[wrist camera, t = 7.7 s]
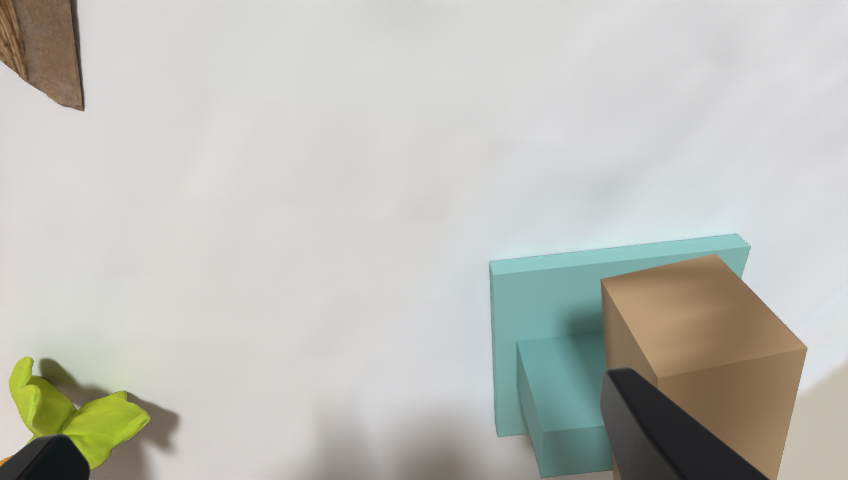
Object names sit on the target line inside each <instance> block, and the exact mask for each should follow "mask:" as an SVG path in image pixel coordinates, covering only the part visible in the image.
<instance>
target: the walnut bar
mask: <svg viewBox="0 0 848 480" xmlns="http://www.w3.org/2000/svg"><path fill="white" fill-rule="evenodd" d="M600 280H601V295H602V310H603V325H604V340H605V355H606V370H607V369H611V368H619V367H630V368H632V369H634V370H635V371H636V372H638V373H639V374H640V375H641V376H643V377H644V378H645V379H646V380H648V381H649V382H650V383H651V384H653V385H654V386H655V387H656V388H658V389H659V390H660V391H661V392H663V393H664V394H665V395H666V396H667V397H669V398H670V399H671V400H672V401H674V402H675V403H676V404H677V405H679V406H680V407H681V408H682V409H684V410H685V411H686V412H687V413H689V414H690V415H691V416H692V417H694V418H695V419H696V420H697V421H699V422H700V423H701V424H702V425H703V426H705V427H706V428H707V429H708V430H710V431H711V432H712V433H713V434H715V435H716V436H717V437H718V438H720V439H721V440H722V441H723V442H725V443H726V444H727V445H728V446H730V447H731V448H732V449H733V450H735V451H736V452H737V453H738V454H739V455H741V456H742V457H743V458H744V459H746V460H747V461H748V462H749V463H751V464H752V465H753V466H754V467H756V468H757V469H758V470H759V471H761V472H762V473H763V474H764V475H766V476H767V477H768V478H769V479H771V480H776V479H777V475H778V471H779V467H780V462H781V458H782V454H783V450H784V446H785V441H786V436H787V433H788V429H789V424H790V420H791V416H792V412H793V407H794V403H795V399H796V395H797V390H798V386H799V382H800V378H801V373H802V369H803V365H804V361H805V357H806V352H807V347H806V346H805V345H804V344H803V343H802V342H801V340H800V339H799V338H798V337H797V336H796V335H795V334H794V333H793V332H792V331H791V330H790V329H789V328H788V327H787V326H786V325H785V324H784V323H783V322H782V321H781V320H780V319H779V318H778V317H777V316H776V315H775V314H774V313H773V312H772V311H771V310H770V309H769V308H768V307H767V306H766V305H765V303H764V302H763V301H762V300H761V299H760V298H759V297H758V296H757V295H756V294H755V293H754V292H753V291H752V290H751V289H750V288H749V287H748V286H747V285H746V284H745V283H744V282H743V281H742V280H741V279H740V278H739V277H738V276H737V275H736V274H735V273H734V272H733V271H732V270H731V269H730V268H729V266H728V265H727V264H726V263H725V262H724V261H723V260H722V259H721V258H720V257H719V256H718V255H717V254H711V255H707V256H702V257H698V258H693V259H689V260H684V261H680V262H675V263H671V264H666V265H662V266H657V267H653V268H648V269H644V270H639V271H635V272H630V273H626V274H621V275H617V276H612V277H608V278H603V279H600ZM612 459H613V474H614V480H621V477H620V473H619V470H618V467H617V464H616V460H615V457H614V454H613V451H612Z"/></svg>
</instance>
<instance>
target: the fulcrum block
mask: <svg viewBox="0 0 848 480" xmlns="http://www.w3.org/2000/svg"><path fill="white" fill-rule="evenodd" d="M750 247H751V246H750V245H749V244H748V243H747V242H745V241H744V240H743V239H742V238H741V237H740V236H739V235H738V234H732V235H723V236H714V237H706V238H697V239H688V240H679V241H670V242H661V243H652V244H643V245H634V246H625V247H616V248H607V249H598V250H589V251H580V252H571V253H562V254H553V255H544V256H535V257H526V258H517V259H508V260H499V261H490V262H489V267H490V294H491V322H492V349H493V377H494V404H495V424H496V428H497V433H498V437H504V436H513V435H523V434H530V437H531V441H532V445H533V448H534V452H535V456H536V460H537V463H538V467H539V471H540V475H541V478H543V477H552V476H562V475H571V474H580V473H590V472H599V471H608V470H613V459H612V447H611V444H610V441H609V438H608V434H607V431H606V428H605V425H604V421H603V418H602V415H601V409H600V397H601V389H602V380H603V374H604V372H605V370H606V355H605V340H604V325H603V310H602V295H601V280H600V279H603V278H608V277H612V276H617V275H621V274H626V273H630V272H635V271H639V270H644V269H648V268H653V267H657V266H662V265H666V264H671V263H675V262H680V261H684V260H689V259H693V258H698V257H702V256H707V255H711V254H717V255H718V256H719V257H720V258H721V259H722V260H723V261H724V262H725V263H726V264H727V265H728V266H729V268H730V269H731V270H732V271H733V272H734V273H735V274H736V275H737V276H738V277H739V278H740V279H741V277H742V274H743V271H744V267H745V264H746V261H747V257H748V254H749V250H750Z"/></svg>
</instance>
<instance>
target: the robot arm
mask: <svg viewBox="0 0 848 480" xmlns="http://www.w3.org/2000/svg"><path fill="white" fill-rule="evenodd" d="M600 409H601V415H602V418H603V421H604V425H605V428H606V431H607V434H608V438H609V441H610V444H611V447H612V451H613V454H614V457H615V460H616V464H617V467H618V470H619V473H620V477H621V480H771V479H769V478H768V477H767V476H766V475H764V474H763V473H762V472H761V471H759V470H758V469H757V468H756V467H754V466H753V465H752V464H751V463H749V462H748V461H747V460H746V459H744V458H743V457H742V456H741V455H739V454H738V453H737V452H736V451H735V450H733V449H732V448H731V447H730V446H728V445H727V444H726V443H725V442H723V441H722V440H721V439H720V438H718V437H717V436H716V435H715V434H713V433H712V432H711V431H710V430H708V429H707V428H706V427H705V426H703V425H702V424H701V423H700V422H699V421H697V420H696V419H695V418H694V417H692V416H691V415H690V414H689V413H687V412H686V411H685V410H684V409H682V408H681V407H680V406H679V405H677V404H676V403H675V402H674V401H672V400H671V399H670V398H669V397H667V396H666V395H665V394H664V393H663V392H661V391H660V390H659V389H658V388H656V387H655V386H654V385H653V384H651V383H650V382H649V381H648V380H646V379H645V378H644V377H643V376H641V375H640V374H639V373H638V372H636V371H635V370H634V369H632V368H630V367H619V368H611V369H607V370H605V372H604V374H603V380H602V389H601V397H600ZM89 476H90V465H89V462H88V460H87V459H86V458H85V456H84V455H83V454H82V452H81V451H80V450H79V449H78V447H77V446H76V445H75V443H74V442H73V441H72V439H71V438H70V437H69V436H67V435H65V434H54V435H46V436H41V437H38V438H36V439H34V440H33V441H31V442H30V443H29V444H27V445H26V446H25V447H24V448H22V449H21V450H20V451H19V452H17V453H16V454H15V455H13V456H12V457H11V458H10V459H8V460H7V461H6V462H5V463H3V464H2V465H1V466H0V480H89Z"/></svg>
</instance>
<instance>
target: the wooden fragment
mask: <svg viewBox="0 0 848 480" xmlns="http://www.w3.org/2000/svg"><path fill="white" fill-rule="evenodd" d="M75 50H76V47H75V41H74V33H73V27H72V16H71V4H70V0H0V60H1V61H2V62H3V63H5V64H6V65H7V66H8V67H9V68H11V69H12V70H14V71H15V72H16V73H18V75H19V77H21V78H22V79H23V80H24V81H26V82H27V83H29V84H30V85H32V86H34V87H36V88H37V89H39V90H41V91H42V92H44V93H46V95H47V96H48V97H49V98H51V99H52V100H54V101H55V102H57V103H58V104H66V105H68V106H71V107H74V108H76V109H79V110H82V111H84V109H83V106H82V97H81V88H80V77H79V69H78V63H77V55H76V52H75Z"/></svg>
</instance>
